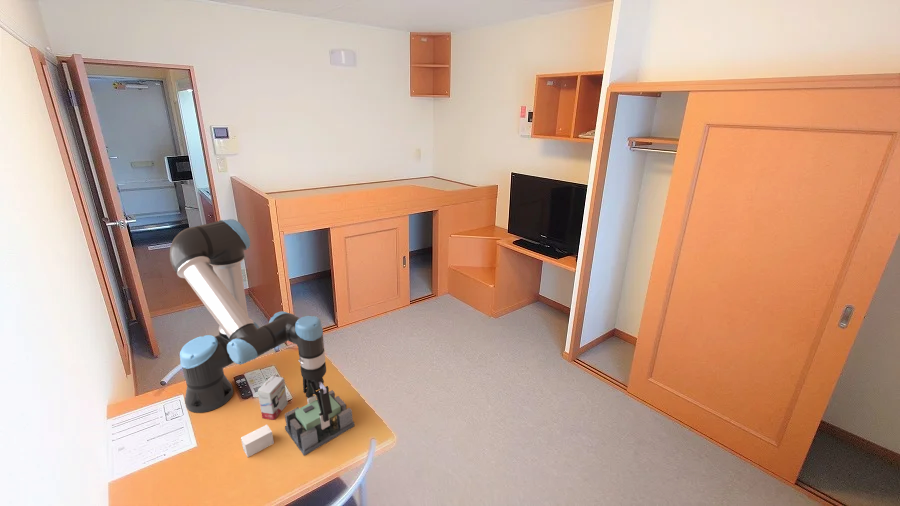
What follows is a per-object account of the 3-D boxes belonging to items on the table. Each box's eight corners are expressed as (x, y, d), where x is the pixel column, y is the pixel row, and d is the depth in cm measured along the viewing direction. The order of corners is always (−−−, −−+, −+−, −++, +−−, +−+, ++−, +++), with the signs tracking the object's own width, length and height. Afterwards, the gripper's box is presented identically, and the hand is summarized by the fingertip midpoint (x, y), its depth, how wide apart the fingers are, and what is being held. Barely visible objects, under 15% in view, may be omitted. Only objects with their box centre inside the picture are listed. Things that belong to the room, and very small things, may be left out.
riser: (243, 449, 126) (240, 437, 124) (269, 436, 131) (267, 424, 129) (247, 457, 123) (245, 445, 122) (273, 443, 129) (271, 431, 127)
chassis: (285, 430, 134) (282, 413, 131) (334, 404, 146) (332, 388, 143) (304, 455, 125) (301, 438, 122) (354, 426, 136) (353, 410, 134)
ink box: (274, 420, 137) (269, 393, 133) (261, 418, 138) (256, 391, 134) (288, 403, 145) (284, 377, 141) (276, 401, 146) (272, 374, 142)
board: (295, 416, 132) (294, 409, 130) (329, 399, 139) (328, 392, 138) (306, 430, 126) (305, 423, 125) (340, 412, 134) (340, 404, 133)
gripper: (287, 353, 130) (294, 408, 138) (317, 385, 116) (323, 444, 124) (309, 344, 135) (315, 398, 143) (340, 374, 121) (345, 431, 129)
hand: (319, 419), depth 134 cm, fingers closed on board, 8 cm apart
